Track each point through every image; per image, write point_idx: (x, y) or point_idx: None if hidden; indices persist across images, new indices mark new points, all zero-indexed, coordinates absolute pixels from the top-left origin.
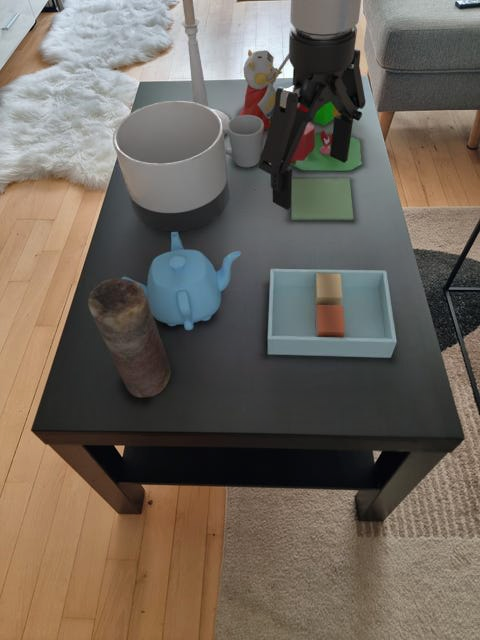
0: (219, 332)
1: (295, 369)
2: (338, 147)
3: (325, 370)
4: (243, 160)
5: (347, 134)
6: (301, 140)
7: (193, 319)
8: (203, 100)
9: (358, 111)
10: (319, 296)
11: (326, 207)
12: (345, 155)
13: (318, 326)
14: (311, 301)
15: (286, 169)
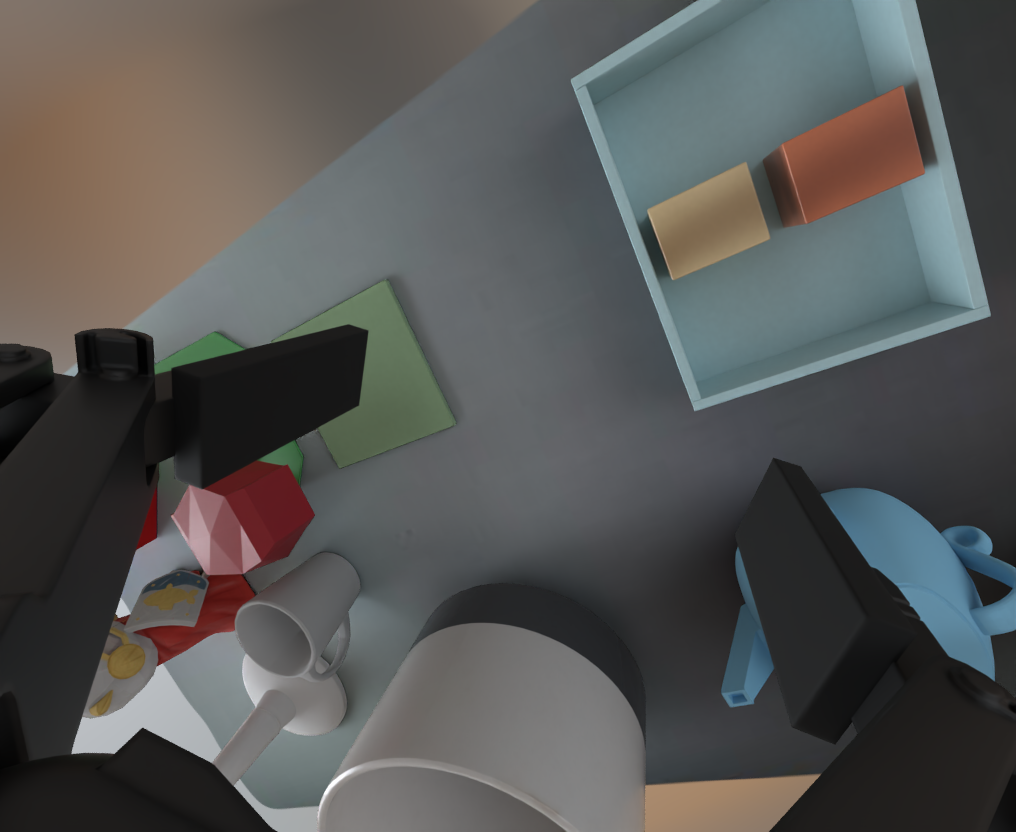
0: (895, 453)
1: (978, 210)
2: (326, 385)
3: (958, 122)
4: (349, 588)
5: (263, 366)
6: (246, 499)
7: (942, 535)
8: (249, 737)
9: (81, 361)
10: (766, 232)
11: (383, 358)
12: (345, 336)
13: (904, 181)
14: (712, 268)
15: (965, 672)
